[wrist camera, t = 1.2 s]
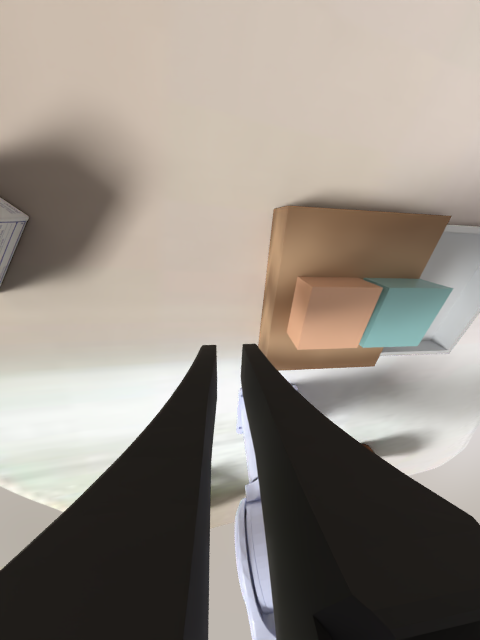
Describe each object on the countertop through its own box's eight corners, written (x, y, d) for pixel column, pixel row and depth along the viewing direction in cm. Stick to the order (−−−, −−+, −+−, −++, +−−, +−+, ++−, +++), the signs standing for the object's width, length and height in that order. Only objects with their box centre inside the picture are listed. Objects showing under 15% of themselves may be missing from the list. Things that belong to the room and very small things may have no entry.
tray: (427, 341, 24) (449, 353, 21) (358, 343, 22) (373, 356, 20) (500, 228, 17) (540, 229, 15) (409, 223, 16) (438, 224, 14)
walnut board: (352, 346, 23) (374, 366, 20) (257, 349, 21) (264, 371, 18) (406, 217, 16) (451, 216, 13) (273, 209, 15) (288, 205, 12)
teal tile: (392, 330, 17) (417, 346, 15) (344, 331, 17) (362, 347, 15) (419, 278, 15) (453, 288, 13) (363, 277, 14) (389, 287, 12)
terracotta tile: (339, 331, 17) (357, 347, 15) (286, 332, 16) (297, 349, 14) (358, 277, 14) (383, 287, 12) (297, 276, 14) (312, 287, 12)
